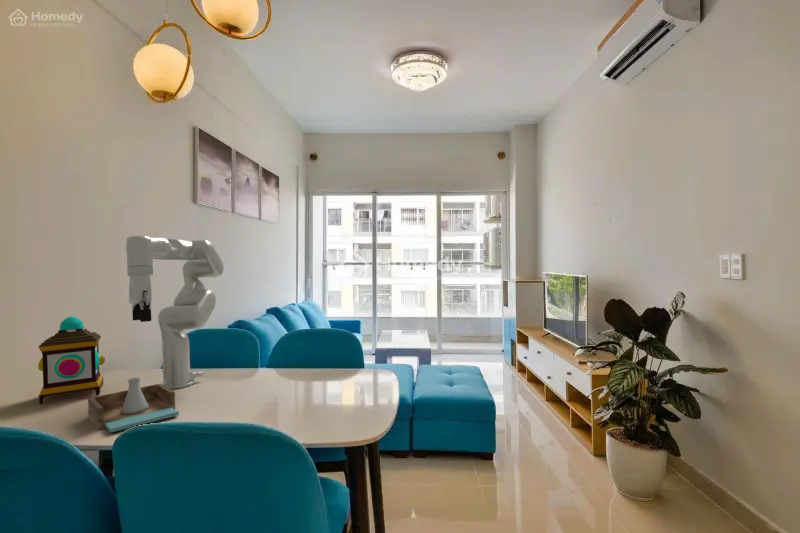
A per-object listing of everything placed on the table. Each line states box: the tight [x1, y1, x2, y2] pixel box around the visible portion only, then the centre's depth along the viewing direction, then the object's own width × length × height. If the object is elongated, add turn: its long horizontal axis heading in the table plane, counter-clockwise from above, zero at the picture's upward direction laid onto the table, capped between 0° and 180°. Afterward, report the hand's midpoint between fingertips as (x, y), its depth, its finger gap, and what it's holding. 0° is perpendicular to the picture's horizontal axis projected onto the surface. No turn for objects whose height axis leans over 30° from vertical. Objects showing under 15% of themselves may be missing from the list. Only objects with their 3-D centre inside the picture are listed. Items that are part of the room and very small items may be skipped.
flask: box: [120, 377, 149, 414], centre depth 126 cm, size 7×7×10 cm
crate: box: [87, 383, 176, 430], centre depth 128 cm, size 20×16×6 cm
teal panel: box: [105, 407, 180, 433], centre depth 120 cm, size 17×1×8 cm
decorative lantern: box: [37, 315, 106, 406], centre depth 154 cm, size 20×20×30 cm
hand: (141, 320), depth 141 cm, fingers open, 9 cm apart
